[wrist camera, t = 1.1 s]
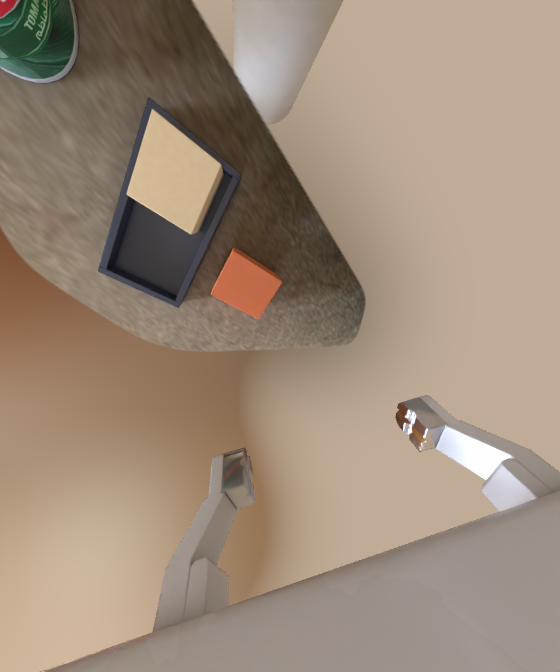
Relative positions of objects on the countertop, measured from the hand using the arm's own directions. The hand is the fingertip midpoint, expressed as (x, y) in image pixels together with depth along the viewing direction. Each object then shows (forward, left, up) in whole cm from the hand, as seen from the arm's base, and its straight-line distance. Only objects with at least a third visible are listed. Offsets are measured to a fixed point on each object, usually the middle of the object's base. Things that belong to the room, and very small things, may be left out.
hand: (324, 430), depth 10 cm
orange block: (-1, -4, -19) cm, 20 cm away
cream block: (-6, -13, -18) cm, 23 cm away
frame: (-2, -13, -19) cm, 23 cm away
